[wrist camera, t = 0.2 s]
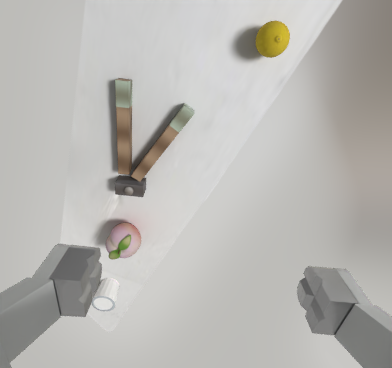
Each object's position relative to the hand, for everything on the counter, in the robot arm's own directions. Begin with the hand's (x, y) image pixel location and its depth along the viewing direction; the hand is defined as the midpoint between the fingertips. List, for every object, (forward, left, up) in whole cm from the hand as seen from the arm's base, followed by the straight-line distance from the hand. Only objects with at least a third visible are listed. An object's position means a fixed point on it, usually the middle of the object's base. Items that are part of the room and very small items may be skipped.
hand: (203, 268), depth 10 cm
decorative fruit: (+37, -14, -47) cm, 62 cm away
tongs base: (+12, -13, -47) cm, 50 cm away
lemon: (-11, +12, -47) cm, 50 cm away
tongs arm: (+12, -7, -47) cm, 49 cm away
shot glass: (+60, -20, -47) cm, 79 cm away
